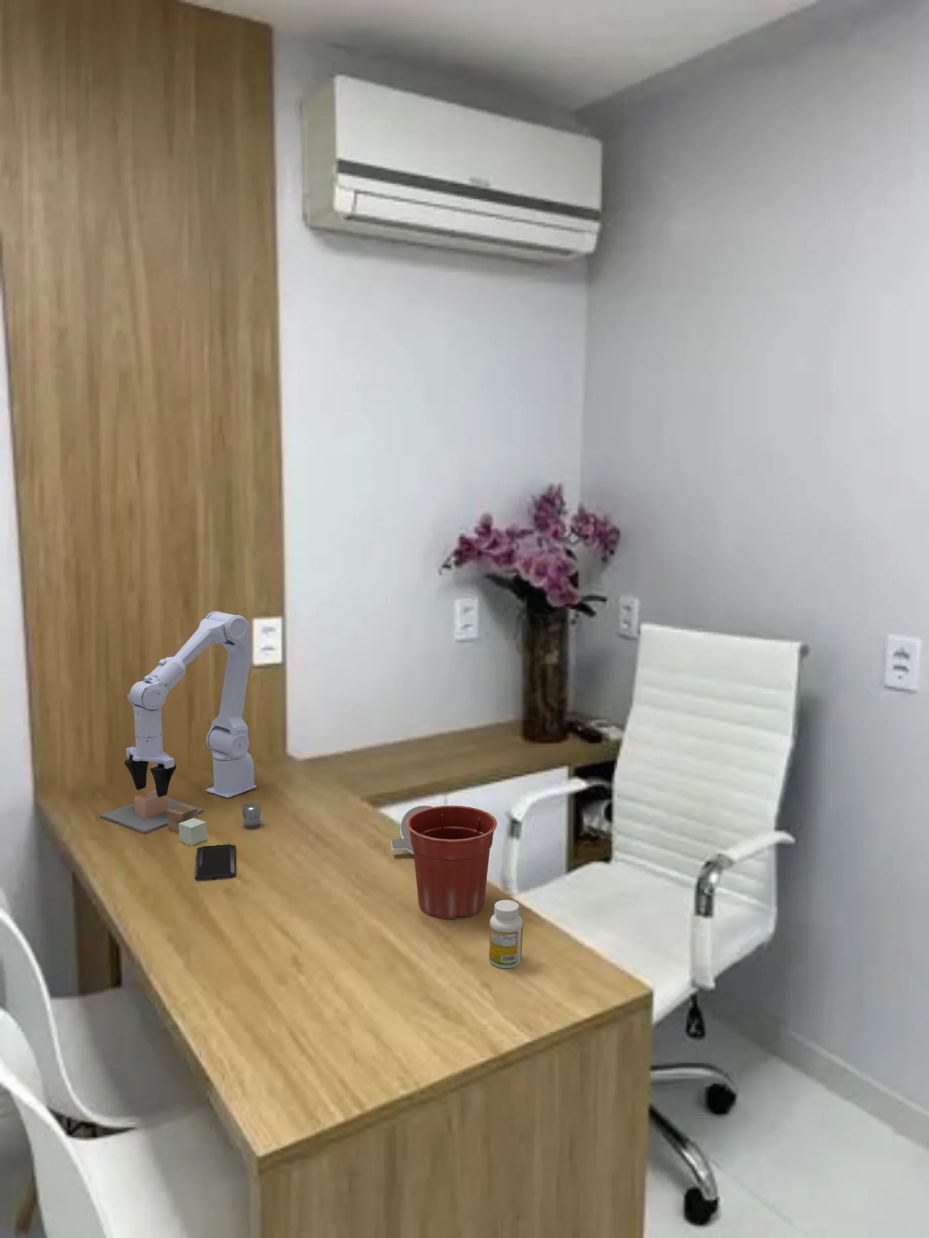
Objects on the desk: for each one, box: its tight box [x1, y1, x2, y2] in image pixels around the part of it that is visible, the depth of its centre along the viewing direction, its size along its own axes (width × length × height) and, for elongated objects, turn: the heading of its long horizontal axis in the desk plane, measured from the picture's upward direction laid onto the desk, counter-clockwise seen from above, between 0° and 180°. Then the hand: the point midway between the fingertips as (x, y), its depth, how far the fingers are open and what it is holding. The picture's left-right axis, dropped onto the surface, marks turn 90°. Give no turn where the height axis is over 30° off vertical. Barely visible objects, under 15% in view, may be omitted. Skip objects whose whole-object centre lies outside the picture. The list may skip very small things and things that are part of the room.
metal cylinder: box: [241, 802, 262, 830], centre depth 208 cm, size 4×4×4 cm
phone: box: [194, 843, 237, 882], centre depth 188 cm, size 8×1×15 cm
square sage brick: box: [178, 818, 208, 846], centre depth 199 cm, size 4×4×4 cm
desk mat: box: [99, 797, 204, 834], centre depth 213 cm, size 16×16×1 cm
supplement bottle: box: [488, 899, 524, 969], centre depth 153 cm, size 5×5×10 cm
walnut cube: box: [167, 803, 199, 834], centre depth 206 cm, size 4×4×4 cm
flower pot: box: [406, 805, 498, 920], centre depth 171 cm, size 16×16×16 cm
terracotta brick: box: [133, 789, 169, 818], centre depth 213 cm, size 6×4×4 cm, turn 145°
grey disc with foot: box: [390, 805, 432, 856], centre depth 197 cm, size 15×8×11 cm, turn 103°
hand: (151, 792), depth 213 cm, fingers open, 7 cm apart
